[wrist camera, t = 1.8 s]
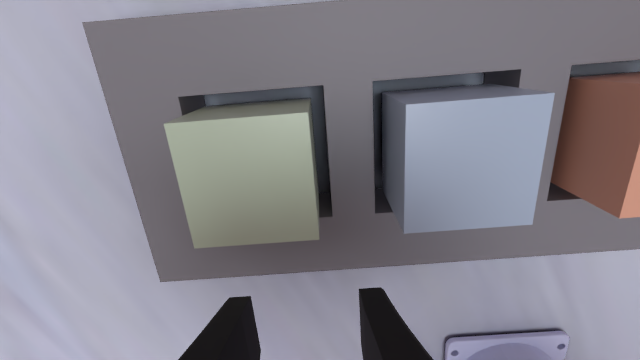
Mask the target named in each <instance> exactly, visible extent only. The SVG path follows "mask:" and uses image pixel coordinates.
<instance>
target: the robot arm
mask: <svg viewBox="0 0 640 360" xmlns="http://www.w3.org/2000/svg"><path fill="white" fill-rule="evenodd" d="M359 302H360V325H361V345H362V353H363V360H433V359H432V357H431V356H430V355H429V354H428V352H427V351H426V350H425V349H424V347H423V346H422V345H421V343H420V342H419V341H418V340H417V338H416V337H415V336H414V334H413V333H412V332H411V330H410V329H409V328H408V326H407V325H406V324H405V322H404V321H403V319H402V318H401V316H400V315H399V313H398V312H397V310H396V309H395V307H394V306H393V304H392V303H391V301H390V300H389V298H388V296H387V295H386V293H385V291H384V290H383V289H382V288H381V287H380V288H365V289H359ZM569 341H570V337H569V336H568V335H567V334H566V332H564V331H548V332H533V333H517V334H501V335H486V336H470V337H455V338H450V339H448V340H447V342H446V347H445V360H565V356H566V353H567V349H568V345H569ZM454 350H455V351H454ZM260 352H261V349H260V344H259V338H258V333H257V328H256V322H255V317H254V312H253V306H252V301H251V296H247V297H232V298H229V299H228V300H227V301H226V302H225V303H224V305H223V306H222V307H221V308H220V310H219V311H218V312H217V313H216V315H215V316H214V317H213V318H212V320H211V321H210V322H209V323H208V325H207V326H206V327H205V328H204V330H203V331H202V332H201V333H200V334H199V336H198V337H197V338H196V339H195V341H194V342H193V343H192V344H191V345H190V346H189V348H188V349H187V350H186V351H185V352H184V354H183V355H182V356H181V357H180V358H179V359H178V360H260Z"/></svg>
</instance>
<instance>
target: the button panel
mask: <svg viewBox="0 0 640 360" xmlns="http://www.w3.org/2000/svg"><path fill="white" fill-rule="evenodd" d="M82 23H83V27H84V30H85V33H86V37H87V40H88V43H89V47H90V50H91V53H92V57H93V60H94V63H95V66H96V70H97V73H98V76H99V80H100V83H101V86H102V90H103V93H104V96H105V100H106V103H107V106H108V110H109V113H110V116H111V120H112V123H113V126H114V129H115V133H116V136H117V139H118V143H119V146H120V149H121V153H122V156H123V159H124V163H125V166H126V169H127V173H128V176H129V179H130V183H131V186H132V189H133V193H134V196H135V199H136V202H137V206H138V209H139V212H140V216H141V219H142V222H143V226H144V229H145V232H146V236H147V239H148V242H149V246H150V249H151V252H152V256H153V259H154V262H155V265H156V269H157V272H158V275H159V279H160V282H167V281H182V280H197V279H211V278H226V277H240V276H255V275H269V274H284V273H298V272H313V271H327V270H342V269H356V268H371V267H386V266H400V265H415V264H429V263H444V262H458V261H473V260H487V259H502V258H516V257H531V256H545V255H560V254H575V253H589V252H604V251H618V250H633V249H640V217H633V218H617V217H615V216H614V215H612V214H610V213H608V212H606V211H604V210H602V209H600V208H598V207H596V206H595V205H593V204H591V203H589V202H587V201H585V200H583V199H581V198H579V197H578V196H576V195H574V194H572V193H570V192H568V191H566V190H564V189H562V188H560V187H559V186H557V185H555V184H553V183H551V182H550V181H551V176H552V170H553V165H554V159H555V154H556V148H557V143H558V137H559V132H560V127H561V121H562V116H563V110H564V105H565V99H566V94H567V88H568V83H569V78H570V72H571V67H572V65H579V64H592V63H604V62H616V61H629V60H640V0H339V1H327V2H315V3H304V4H292V5H280V6H269V7H257V8H246V9H234V10H222V11H211V12H199V13H187V14H176V15H164V16H152V17H141V18H129V19H117V20H106V21H94V22H82ZM480 72H485V76H484V84H496V85H503V86H510V87H517V88H524V89H531V90H538V91H545V92H552V93H555V95H554V101H553V107H552V113H551V119H550V125H549V130H548V136H547V142H546V148H545V154H544V160H543V165H542V171H541V177H540V183H539V189H538V195H537V200H536V206H535V212H534V218H533V224H532V225H520V226H506V227H492V228H478V229H463V230H449V231H435V232H421V233H407V234H404V233H403V231H402V229H401V227H400V225H399V223H398V221H397V219H396V217H395V215H394V213H393V211H392V209H391V207H390V205H389V203H388V201H387V199H386V197H385V194H384V192H383V188H382V189H375V185H374V133H373V82H372V81H381V80H393V79H405V78H418V77H430V76H443V75H455V74H467V73H480ZM318 85H323V96H324V110H325V124H326V138H327V152H328V166H329V180H330V192H327V193H319V240H308V241H294V242H280V243H266V244H251V245H237V246H223V247H209V248H195V249H194V245H193V241H192V237H191V233H190V229H189V225H188V221H187V217H186V213H185V209H184V205H183V201H182V197H181V193H180V188H179V184H178V180H177V176H176V172H175V168H174V164H173V160H172V156H171V152H170V148H169V144H168V140H167V136H166V132H165V128H164V123H167V122H169V121H171V120H174V119H176V118H179V117H181V116H183V115H186V114H188V113H190V112H193V111H195V110H198V109H200V108H202V107H205V101H204V96H203V95H207V94H219V93H231V92H244V91H256V90H269V89H281V88H294V87H306V86H318Z"/></svg>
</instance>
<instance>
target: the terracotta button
mask: <svg viewBox="0 0 640 360" xmlns="http://www.w3.org/2000/svg"><path fill="white" fill-rule="evenodd" d="M550 182H551V183H553V184H555V185H557V186H559V187H560V188H562V189H564V190H566V191H568V192H570V193H572V194H574V195H576V196H578V197H579V198H581V199H583V200H585V201H587V202H589V203H591V204H593V205H595V206H596V207H598V208H600V209H602V210H604V211H606V212H608V213H610V214H612V215H614V216H615V217H617V218H633V217H640V72H630V73H618V74H605V75H593V76H580V77H570V78H569V83H568V88H567V94H566V99H565V105H564V110H563V116H562V121H561V127H560V132H559V137H558V143H557V148H556V154H555V159H554V165H553V170H552V176H551V181H550Z"/></svg>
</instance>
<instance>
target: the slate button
mask: <svg viewBox="0 0 640 360" xmlns="http://www.w3.org/2000/svg"><path fill="white" fill-rule="evenodd" d="M554 95H555V93H552V92H545V91H538V90H531V89H524V88H517V87H510V86H503V85H496V84H480V85H467V86H455V87H442V88H430V89H417V90H405V91H392V92H382V151H383V192H384V194H385V197H386V199H387V201H388V203H389V205H390V207H391V209H392V211H393V213H394V215H395V217H396V219H397V221H398V223H399V225H400V227H401V229H402V231H403V233H404V234H407V233H421V232H435V231H449V230H463V229H478V228H492V227H506V226H520V225H532V224H533V218H534V212H535V206H536V200H537V195H538V189H539V183H540V177H541V171H542V165H543V160H544V154H545V148H546V142H547V136H548V130H549V125H550V119H551V113H552V107H553V101H554Z"/></svg>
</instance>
